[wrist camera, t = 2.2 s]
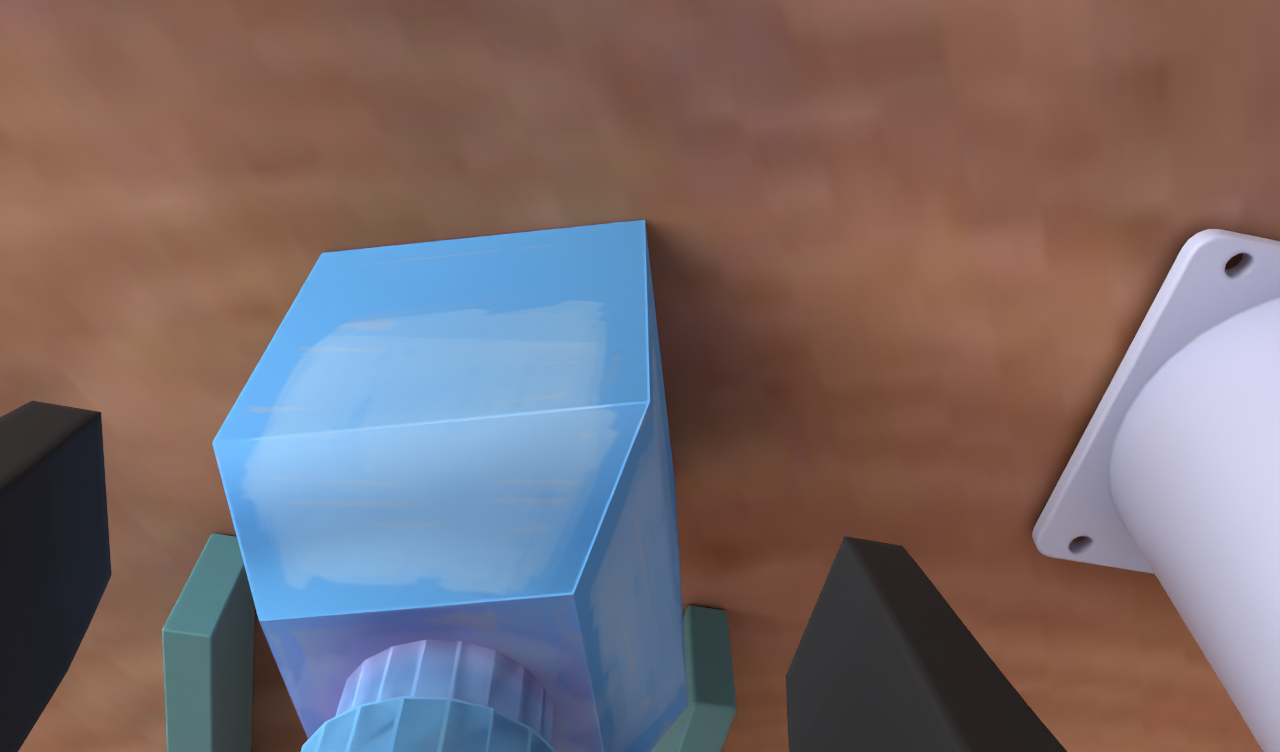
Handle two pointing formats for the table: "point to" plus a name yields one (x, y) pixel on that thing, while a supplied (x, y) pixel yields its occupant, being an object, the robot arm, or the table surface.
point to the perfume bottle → (466, 498)
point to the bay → (224, 644)
